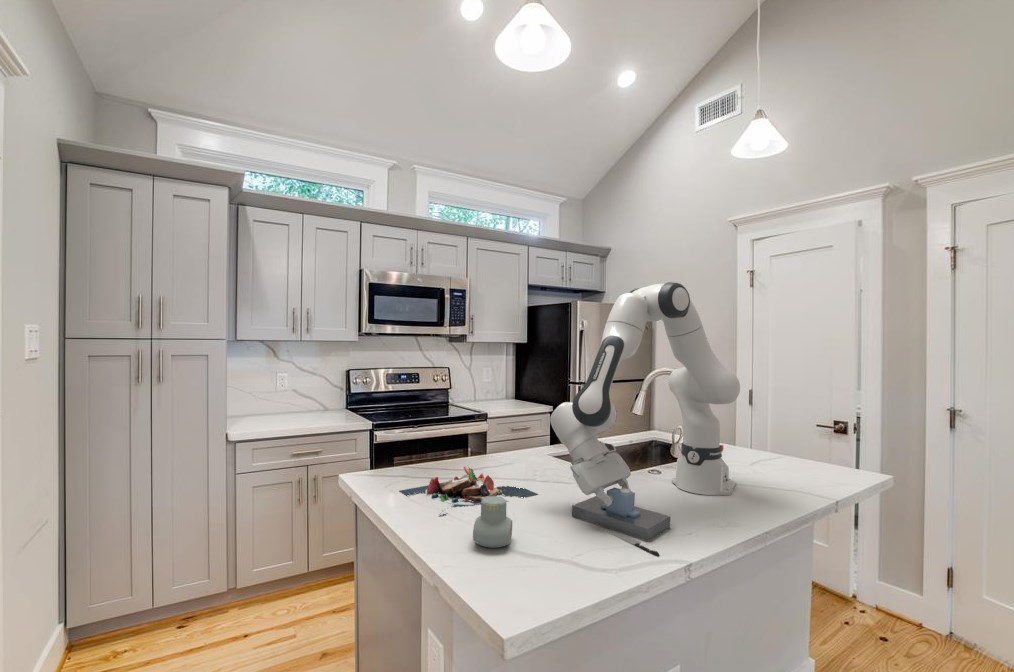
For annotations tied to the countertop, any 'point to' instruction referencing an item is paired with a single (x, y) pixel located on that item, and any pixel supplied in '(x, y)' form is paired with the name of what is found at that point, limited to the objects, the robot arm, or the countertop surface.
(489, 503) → the air freshener
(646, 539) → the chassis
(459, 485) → the platter
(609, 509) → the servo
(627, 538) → the chef's knife
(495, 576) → the countertop surface
